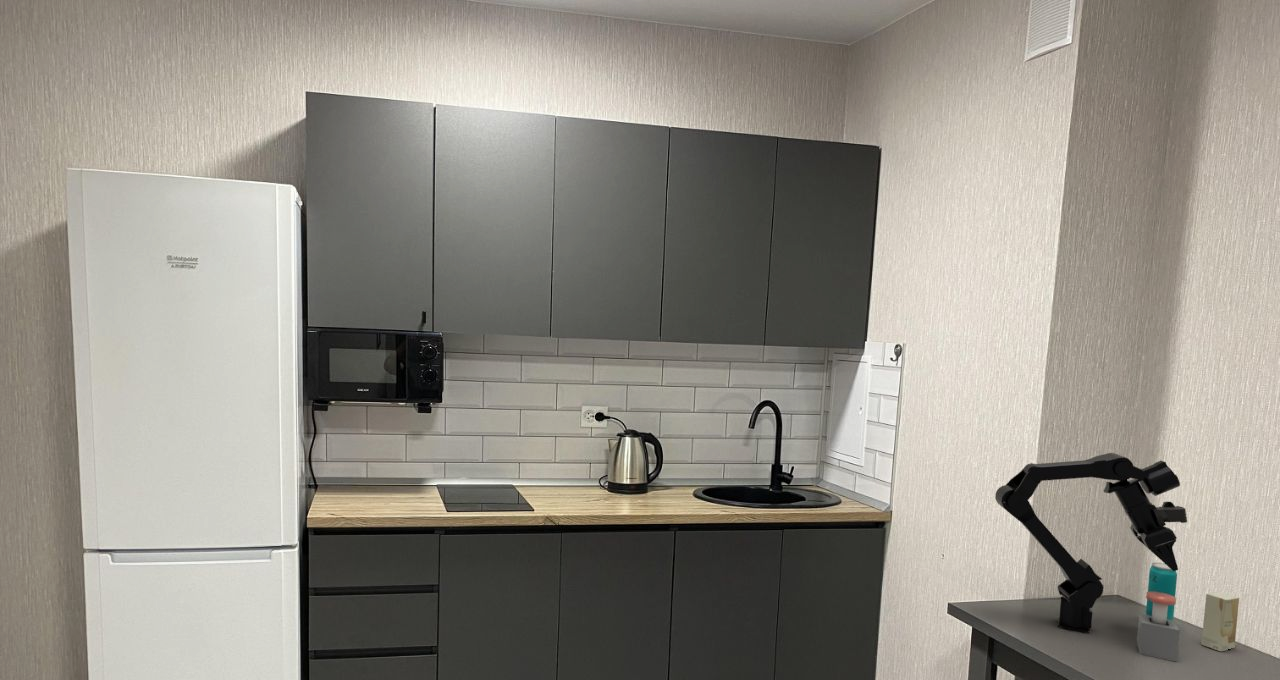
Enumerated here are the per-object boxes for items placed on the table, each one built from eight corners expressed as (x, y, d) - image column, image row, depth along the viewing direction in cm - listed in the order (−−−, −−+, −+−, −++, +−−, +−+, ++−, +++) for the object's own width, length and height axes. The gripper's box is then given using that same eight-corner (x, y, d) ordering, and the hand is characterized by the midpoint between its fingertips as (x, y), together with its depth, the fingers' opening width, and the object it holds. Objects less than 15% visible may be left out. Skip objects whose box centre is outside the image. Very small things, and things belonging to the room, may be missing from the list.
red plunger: (1144, 629, 179) (1147, 596, 179) (1142, 621, 184) (1145, 589, 184) (1174, 635, 177) (1177, 601, 177) (1171, 627, 182) (1174, 594, 182)
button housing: (1139, 653, 179) (1142, 622, 179) (1136, 643, 185) (1139, 613, 185) (1176, 661, 176) (1179, 630, 176) (1172, 651, 182) (1175, 620, 182)
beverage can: (1164, 622, 202) (1169, 563, 201) (1177, 630, 196) (1182, 570, 196) (1140, 619, 202) (1145, 561, 202) (1152, 628, 196) (1158, 567, 196)
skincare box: (1220, 652, 183) (1225, 599, 183) (1200, 645, 187) (1204, 593, 187) (1235, 648, 186) (1240, 597, 186) (1215, 641, 190) (1219, 590, 190)
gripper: (1181, 495, 179) (1219, 562, 176) (1162, 486, 196) (1197, 546, 193) (1129, 514, 183) (1166, 579, 179) (1116, 503, 200) (1149, 563, 197)
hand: (1171, 566), depth 187 cm, fingers open, 9 cm apart
